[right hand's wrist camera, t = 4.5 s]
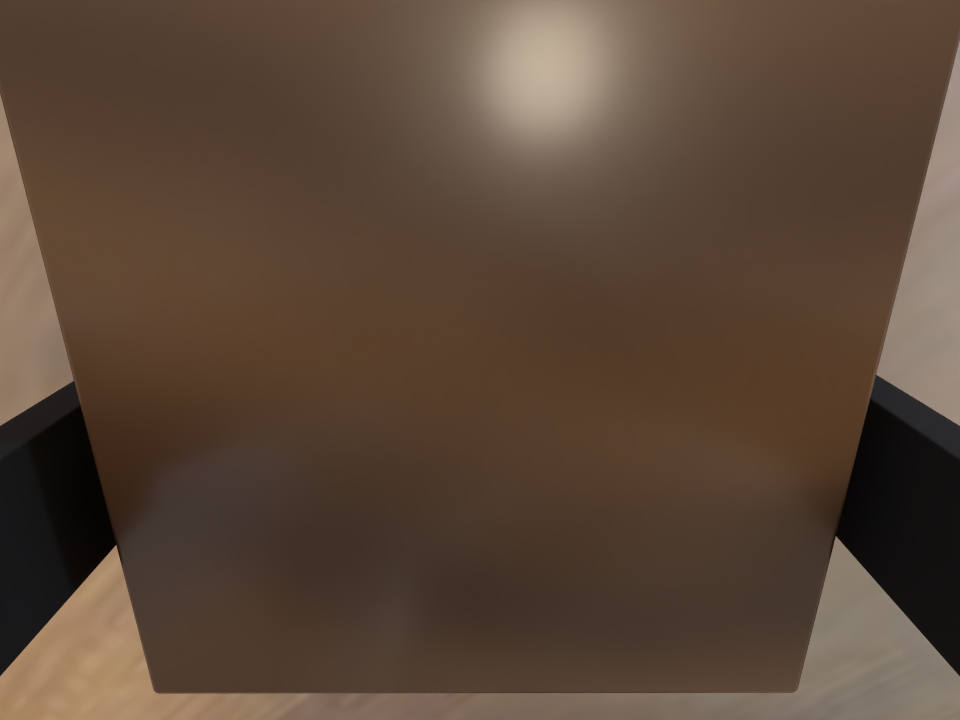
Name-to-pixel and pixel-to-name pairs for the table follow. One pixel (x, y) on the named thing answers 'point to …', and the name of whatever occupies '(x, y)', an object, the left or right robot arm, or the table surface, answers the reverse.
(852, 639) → the table surface
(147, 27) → the cabinet
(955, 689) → the table surface
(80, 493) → the right robot arm
